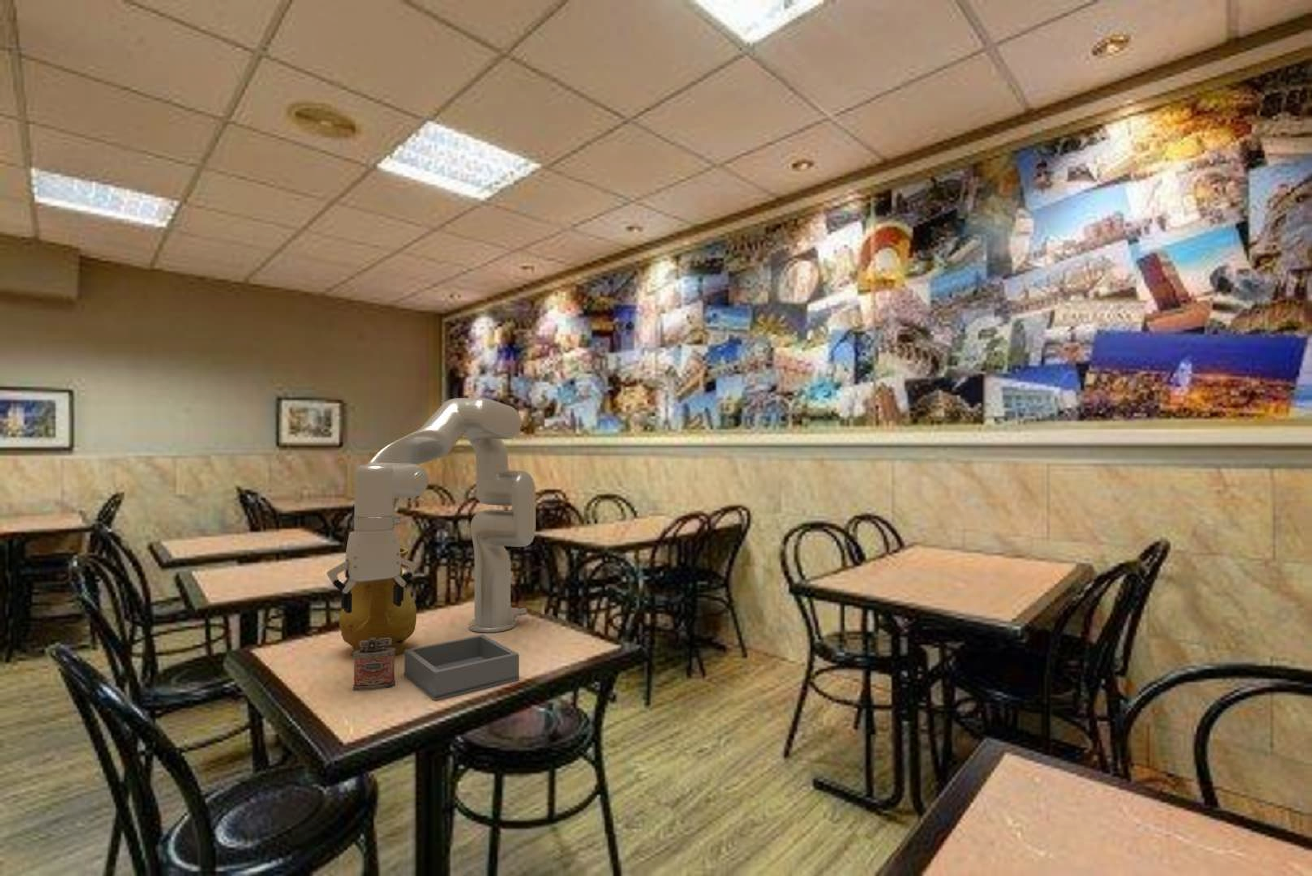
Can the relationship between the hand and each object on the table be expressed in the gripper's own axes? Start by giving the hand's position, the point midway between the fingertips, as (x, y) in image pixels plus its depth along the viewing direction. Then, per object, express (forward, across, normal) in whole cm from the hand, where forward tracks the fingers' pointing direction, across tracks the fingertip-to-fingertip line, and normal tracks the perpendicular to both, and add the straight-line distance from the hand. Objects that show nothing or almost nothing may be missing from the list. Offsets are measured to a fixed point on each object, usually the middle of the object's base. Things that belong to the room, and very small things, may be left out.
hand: (372, 608), depth 135 cm
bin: (+16, -17, +6) cm, 24 cm away
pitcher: (+16, -8, -24) cm, 30 cm away
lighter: (+16, -1, 0) cm, 17 cm away
